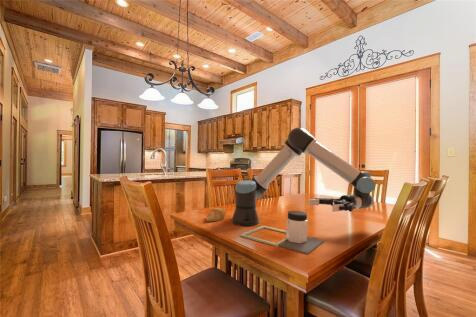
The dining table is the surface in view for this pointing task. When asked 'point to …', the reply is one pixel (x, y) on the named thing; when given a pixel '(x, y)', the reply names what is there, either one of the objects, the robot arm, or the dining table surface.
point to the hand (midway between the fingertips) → (320, 205)
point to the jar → (296, 227)
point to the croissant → (216, 214)
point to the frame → (262, 239)
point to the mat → (303, 245)
